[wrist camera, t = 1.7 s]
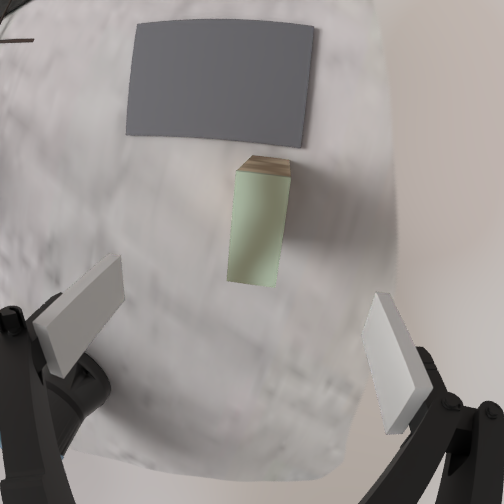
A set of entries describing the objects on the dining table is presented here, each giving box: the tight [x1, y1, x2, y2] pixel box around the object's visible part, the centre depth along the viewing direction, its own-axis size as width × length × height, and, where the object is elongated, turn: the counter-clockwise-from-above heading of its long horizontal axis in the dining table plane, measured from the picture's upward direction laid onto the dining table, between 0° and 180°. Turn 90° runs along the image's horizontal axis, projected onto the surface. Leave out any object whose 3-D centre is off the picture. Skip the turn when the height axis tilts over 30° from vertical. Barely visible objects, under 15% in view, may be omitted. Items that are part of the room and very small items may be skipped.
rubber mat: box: [126, 19, 314, 148], centre depth 30 cm, size 20×14×1 cm
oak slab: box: [227, 155, 291, 288], centre depth 30 cm, size 4×9×12 cm, turn 174°
